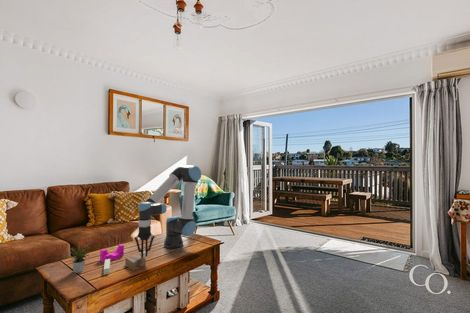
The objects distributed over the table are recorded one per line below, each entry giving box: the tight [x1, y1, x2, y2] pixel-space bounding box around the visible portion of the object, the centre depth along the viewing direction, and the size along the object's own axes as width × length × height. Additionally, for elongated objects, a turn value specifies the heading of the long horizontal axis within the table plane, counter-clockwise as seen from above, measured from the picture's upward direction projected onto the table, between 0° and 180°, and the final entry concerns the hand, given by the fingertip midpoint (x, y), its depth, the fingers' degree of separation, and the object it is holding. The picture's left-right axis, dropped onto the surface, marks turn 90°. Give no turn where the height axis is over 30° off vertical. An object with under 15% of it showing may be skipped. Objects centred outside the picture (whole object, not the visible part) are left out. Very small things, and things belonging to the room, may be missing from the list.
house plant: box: [67, 244, 90, 274], centre depth 155 cm, size 14×14×16 cm
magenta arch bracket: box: [99, 243, 125, 264], centre depth 177 cm, size 15×6×8 cm, turn 145°
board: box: [103, 259, 111, 275], centre depth 159 cm, size 3×16×4 cm, turn 24°
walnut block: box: [124, 253, 147, 271], centre depth 164 cm, size 8×12×5 cm, turn 46°
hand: (144, 261), depth 167 cm, fingers closed
